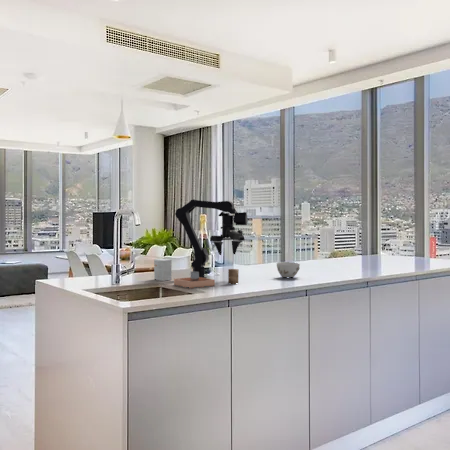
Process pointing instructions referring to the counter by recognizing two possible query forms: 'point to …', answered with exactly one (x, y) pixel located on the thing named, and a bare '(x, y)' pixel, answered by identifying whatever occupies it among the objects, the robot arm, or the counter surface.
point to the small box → (162, 269)
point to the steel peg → (194, 276)
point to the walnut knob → (233, 276)
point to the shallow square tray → (194, 282)
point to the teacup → (288, 269)
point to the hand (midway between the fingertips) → (227, 254)
